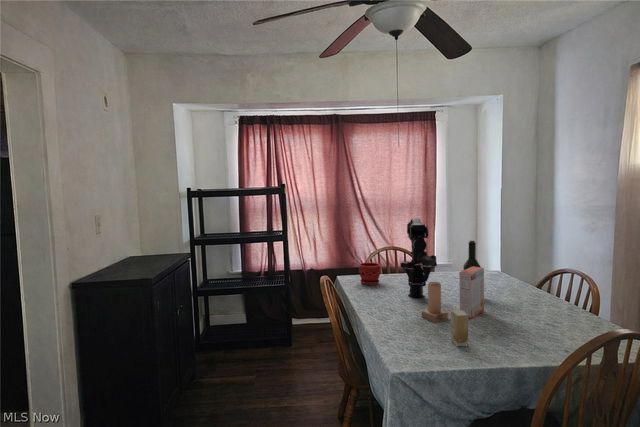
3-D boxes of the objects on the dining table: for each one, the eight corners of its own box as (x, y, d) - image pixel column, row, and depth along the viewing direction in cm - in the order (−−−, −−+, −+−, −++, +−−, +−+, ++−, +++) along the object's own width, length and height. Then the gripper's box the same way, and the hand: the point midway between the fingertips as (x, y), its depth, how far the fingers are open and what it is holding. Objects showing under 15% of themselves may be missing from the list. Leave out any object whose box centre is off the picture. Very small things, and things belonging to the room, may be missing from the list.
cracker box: (472, 308, 182) (472, 265, 180) (484, 311, 178) (485, 267, 176) (458, 316, 172) (458, 271, 171) (471, 319, 168) (472, 273, 166)
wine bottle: (480, 295, 202) (481, 240, 199) (480, 300, 194) (480, 242, 192) (464, 294, 205) (464, 239, 203) (462, 298, 198) (462, 241, 195)
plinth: (433, 313, 177) (433, 307, 176) (447, 318, 170) (447, 312, 169) (421, 317, 172) (421, 310, 172) (435, 322, 166) (435, 315, 165)
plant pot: (382, 285, 226) (382, 266, 225) (360, 286, 227) (359, 266, 226) (379, 280, 239) (378, 261, 238) (358, 280, 240) (358, 262, 239)
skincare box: (450, 340, 147) (450, 309, 146) (461, 339, 147) (461, 309, 146) (457, 347, 140) (457, 315, 140) (468, 346, 141) (469, 314, 140)
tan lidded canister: (430, 308, 175) (430, 281, 174) (442, 310, 171) (442, 282, 170) (426, 312, 170) (426, 283, 169) (438, 314, 167) (438, 285, 166)
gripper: (415, 251, 173) (416, 285, 173) (445, 249, 182) (445, 282, 182) (399, 250, 183) (400, 282, 183) (428, 248, 192) (428, 279, 192)
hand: (419, 281), depth 185 cm, fingers open, 9 cm apart
